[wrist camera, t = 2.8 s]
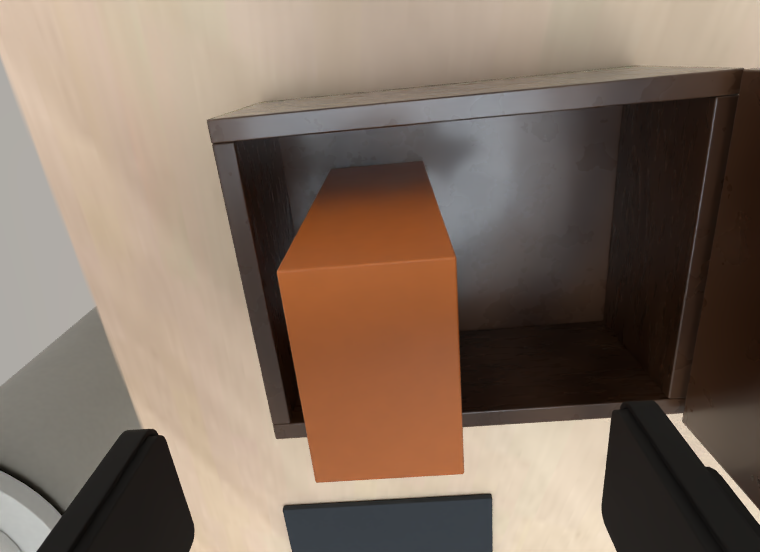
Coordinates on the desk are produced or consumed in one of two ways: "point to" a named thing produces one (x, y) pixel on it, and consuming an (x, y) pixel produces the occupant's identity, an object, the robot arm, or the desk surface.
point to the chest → (513, 225)
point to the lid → (733, 312)
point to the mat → (393, 525)
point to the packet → (376, 327)
